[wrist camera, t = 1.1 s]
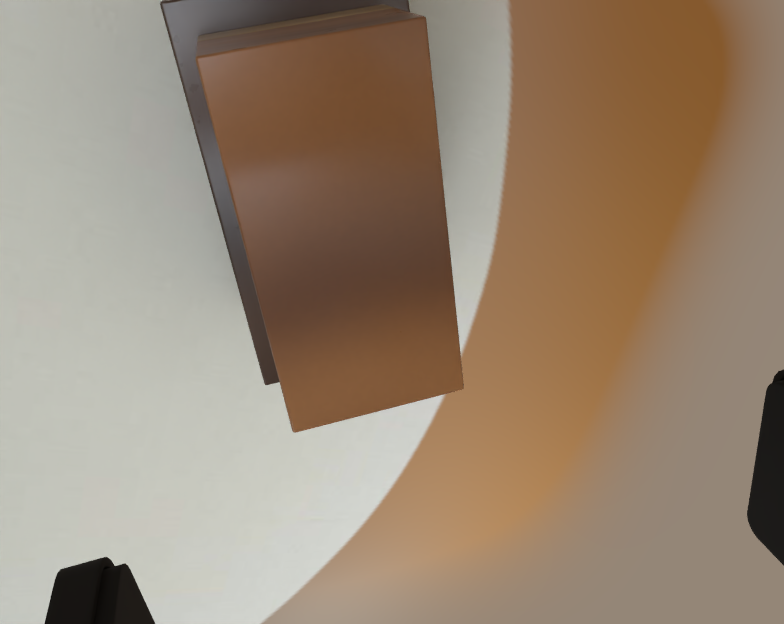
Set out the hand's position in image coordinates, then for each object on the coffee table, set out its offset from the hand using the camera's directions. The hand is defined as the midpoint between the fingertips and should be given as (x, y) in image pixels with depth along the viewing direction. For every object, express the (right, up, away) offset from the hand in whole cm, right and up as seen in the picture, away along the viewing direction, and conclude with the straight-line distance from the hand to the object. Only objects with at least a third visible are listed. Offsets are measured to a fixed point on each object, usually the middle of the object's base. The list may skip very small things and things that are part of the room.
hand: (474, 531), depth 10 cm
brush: (-3, +7, +13) cm, 15 cm away
